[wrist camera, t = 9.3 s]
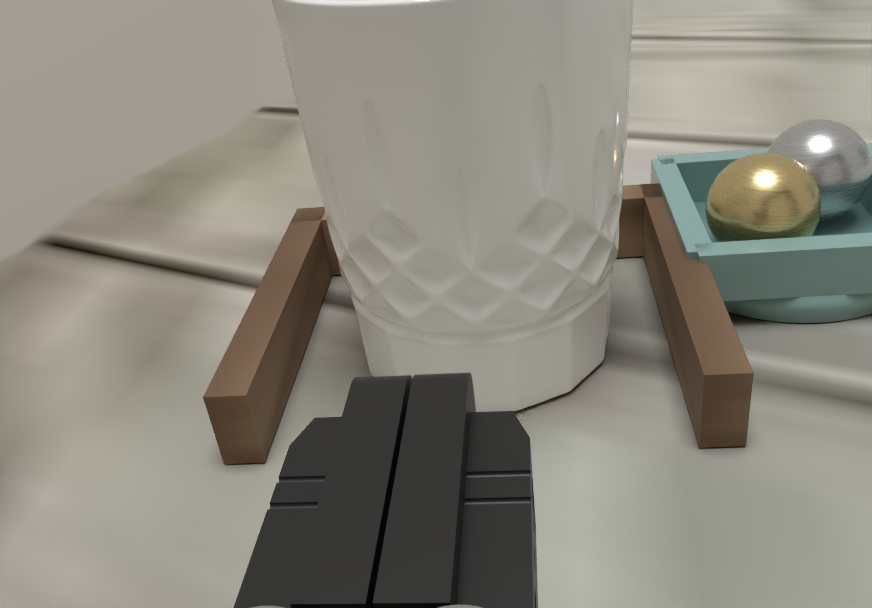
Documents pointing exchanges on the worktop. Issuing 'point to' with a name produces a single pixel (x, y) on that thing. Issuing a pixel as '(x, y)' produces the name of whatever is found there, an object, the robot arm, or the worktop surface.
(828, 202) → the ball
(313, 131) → the white cup
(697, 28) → the worktop surface
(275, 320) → the cradle
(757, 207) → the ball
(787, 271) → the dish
